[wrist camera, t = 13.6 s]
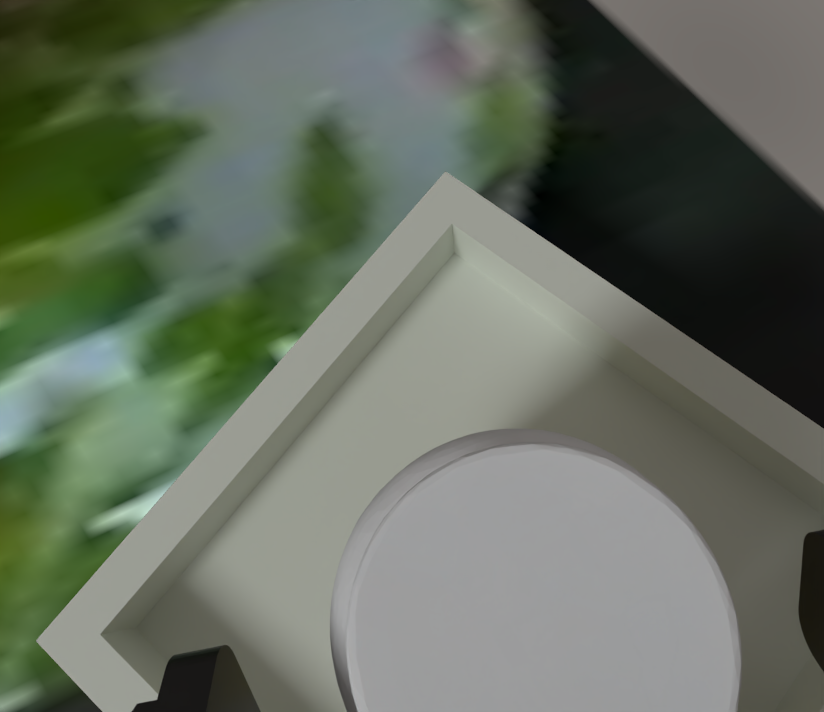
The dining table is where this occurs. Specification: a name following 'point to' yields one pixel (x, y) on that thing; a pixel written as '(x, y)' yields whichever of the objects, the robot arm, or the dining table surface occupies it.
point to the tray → (431, 427)
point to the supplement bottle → (530, 588)
